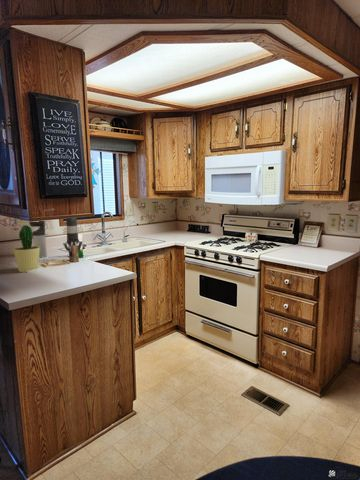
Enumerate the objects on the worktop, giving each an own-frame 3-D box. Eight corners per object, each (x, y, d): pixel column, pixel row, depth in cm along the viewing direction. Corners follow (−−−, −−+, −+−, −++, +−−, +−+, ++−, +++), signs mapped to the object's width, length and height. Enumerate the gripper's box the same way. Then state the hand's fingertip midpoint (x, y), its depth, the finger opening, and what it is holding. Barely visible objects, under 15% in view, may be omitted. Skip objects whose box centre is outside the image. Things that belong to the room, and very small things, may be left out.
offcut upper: (46, 264, 215) (45, 262, 215) (60, 261, 223) (60, 259, 223) (48, 265, 213) (48, 262, 213) (63, 262, 221) (63, 260, 221)
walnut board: (74, 263, 222) (73, 246, 220) (69, 260, 229) (68, 244, 228) (78, 262, 224) (77, 245, 222) (73, 260, 231) (72, 244, 229)
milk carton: (68, 258, 243) (66, 232, 241) (78, 256, 250) (77, 231, 247) (74, 259, 238) (73, 233, 235) (85, 257, 245) (83, 231, 242)
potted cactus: (16, 268, 209) (12, 223, 205) (42, 266, 215) (38, 222, 210) (13, 274, 195) (9, 225, 191) (40, 271, 200) (37, 224, 196)
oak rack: (41, 266, 216) (40, 262, 216) (64, 262, 226) (64, 259, 226) (46, 269, 208) (45, 265, 207) (70, 265, 218) (70, 261, 217)
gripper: (64, 233, 216) (65, 258, 219) (83, 231, 225) (85, 255, 227) (60, 232, 222) (61, 256, 224) (79, 230, 231) (81, 254, 233)
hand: (73, 255), depth 226 cm, fingers closed on walnut board, 3 cm apart
